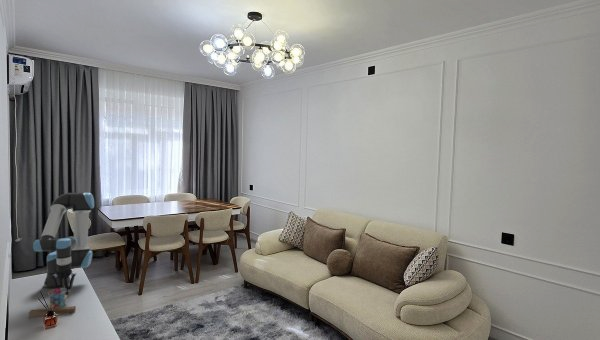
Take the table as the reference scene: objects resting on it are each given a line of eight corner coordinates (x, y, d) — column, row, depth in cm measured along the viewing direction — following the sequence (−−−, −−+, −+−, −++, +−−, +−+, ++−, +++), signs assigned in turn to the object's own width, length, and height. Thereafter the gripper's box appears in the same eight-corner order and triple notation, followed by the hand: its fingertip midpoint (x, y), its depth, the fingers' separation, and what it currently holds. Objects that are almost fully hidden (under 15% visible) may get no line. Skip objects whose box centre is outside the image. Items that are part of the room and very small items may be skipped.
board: (31, 314, 189) (31, 309, 189) (75, 310, 195) (75, 305, 195) (29, 317, 187) (29, 312, 186) (73, 313, 192) (73, 308, 192)
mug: (50, 313, 192) (49, 295, 191) (45, 308, 198) (45, 291, 197) (74, 306, 201) (73, 289, 200) (69, 301, 207) (68, 285, 206)
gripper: (49, 266, 200) (49, 303, 201) (73, 264, 203) (74, 301, 205) (54, 262, 207) (55, 298, 209) (78, 260, 211) (78, 296, 212)
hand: (64, 300), depth 207 cm, fingers closed
